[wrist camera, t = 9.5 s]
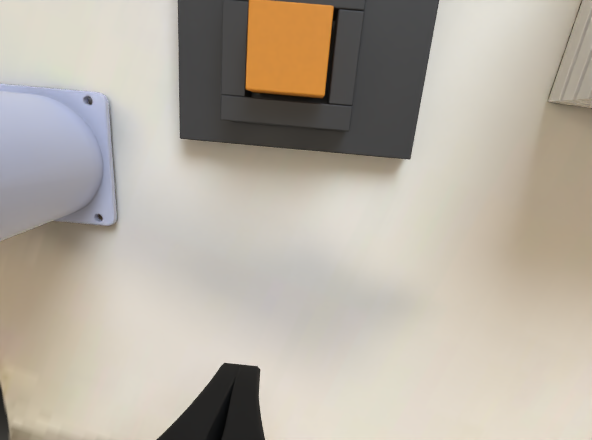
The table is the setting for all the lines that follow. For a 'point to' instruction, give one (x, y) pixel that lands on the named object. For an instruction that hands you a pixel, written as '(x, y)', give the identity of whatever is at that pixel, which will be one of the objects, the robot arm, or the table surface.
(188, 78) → the keypad
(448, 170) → the table surface
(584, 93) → the stack of papers
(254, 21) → the amber key
